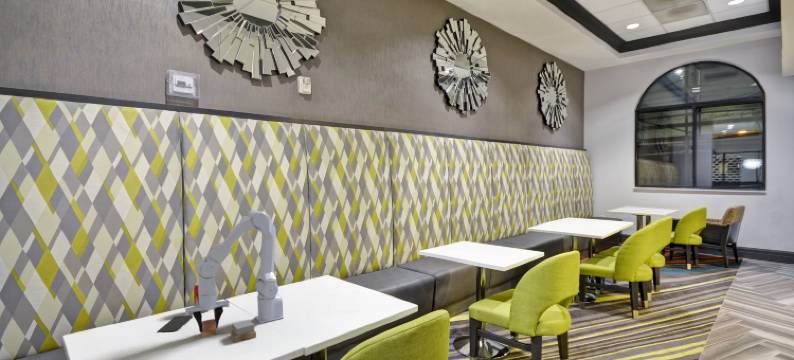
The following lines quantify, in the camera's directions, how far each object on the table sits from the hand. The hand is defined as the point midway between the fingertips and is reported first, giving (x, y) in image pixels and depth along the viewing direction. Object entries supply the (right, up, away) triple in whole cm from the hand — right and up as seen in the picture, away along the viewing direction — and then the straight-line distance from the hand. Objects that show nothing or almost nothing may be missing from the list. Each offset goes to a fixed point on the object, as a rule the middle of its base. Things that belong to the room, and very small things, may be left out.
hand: (208, 329), depth 146 cm
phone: (-18, -2, +10) cm, 20 cm away
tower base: (+14, -2, -3) cm, 14 cm away
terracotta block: (0, -2, 0) cm, 2 cm away
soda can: (-14, -1, +24) cm, 28 cm away
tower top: (+14, 0, -3) cm, 14 cm away
